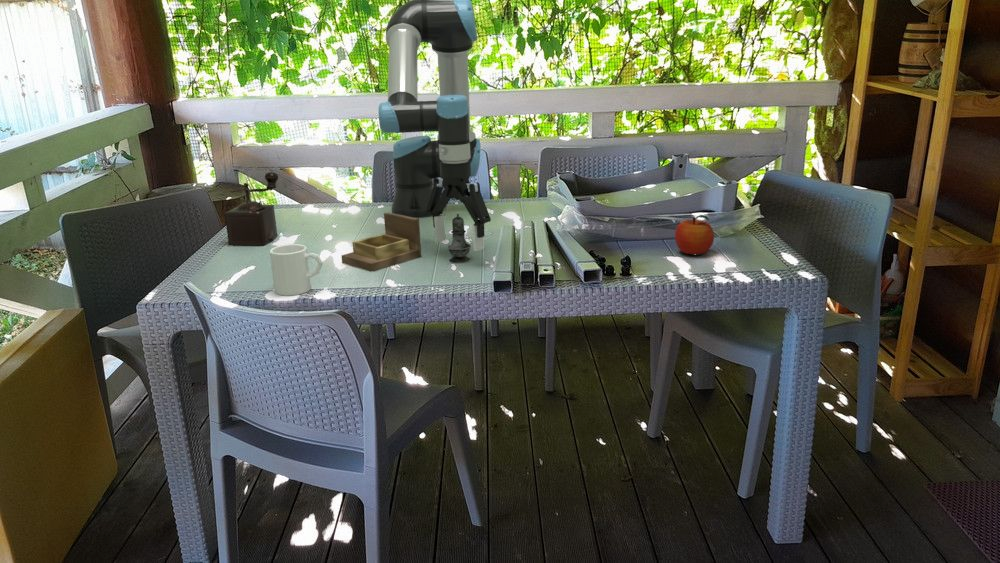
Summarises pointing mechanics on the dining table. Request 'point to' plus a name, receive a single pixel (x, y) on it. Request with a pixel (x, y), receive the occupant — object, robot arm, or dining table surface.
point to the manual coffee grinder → (252, 219)
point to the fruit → (694, 236)
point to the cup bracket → (387, 245)
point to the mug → (292, 269)
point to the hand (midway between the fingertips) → (459, 245)
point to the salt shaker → (459, 242)
